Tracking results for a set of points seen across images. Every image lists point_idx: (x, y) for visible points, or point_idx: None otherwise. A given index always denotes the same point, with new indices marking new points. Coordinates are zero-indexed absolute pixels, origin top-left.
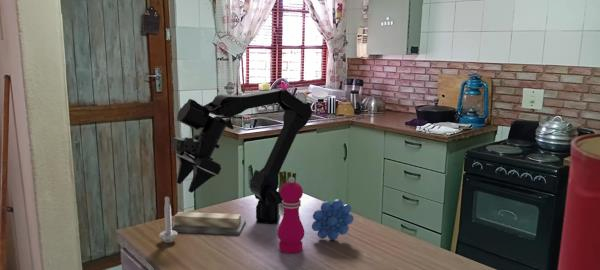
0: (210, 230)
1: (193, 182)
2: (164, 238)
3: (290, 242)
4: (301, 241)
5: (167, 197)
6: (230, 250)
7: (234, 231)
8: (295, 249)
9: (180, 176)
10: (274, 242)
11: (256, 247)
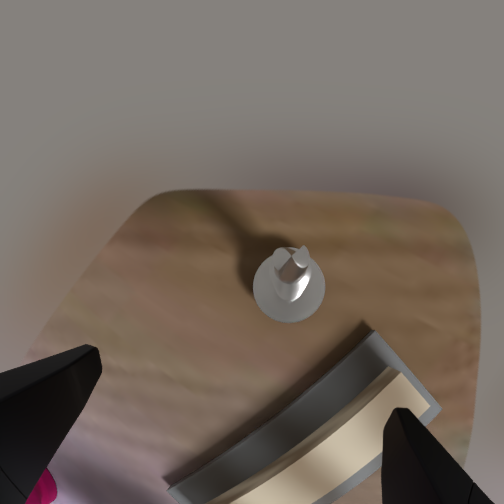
0: (243, 441)
1: (14, 375)
2: (268, 258)
3: None
4: None
5: (280, 255)
6: (95, 391)
7: (178, 483)
8: None
9: (405, 462)
10: (77, 491)
11: (74, 446)
